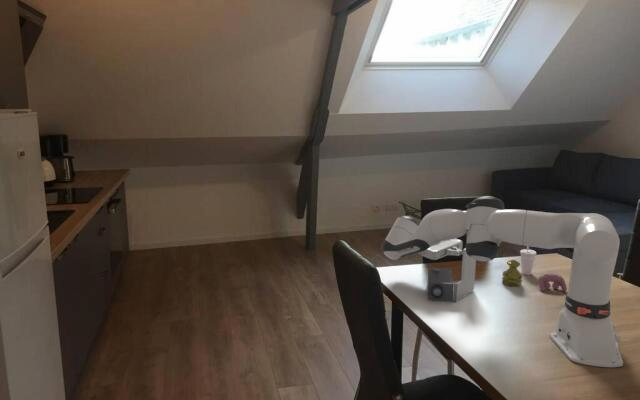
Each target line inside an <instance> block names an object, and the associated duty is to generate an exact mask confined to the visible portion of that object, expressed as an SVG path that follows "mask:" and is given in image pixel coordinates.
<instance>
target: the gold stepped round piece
mask: <svg viewBox="0 0 640 400" xmlns="http://www.w3.org/2000/svg"><path fill="white" fill-rule="evenodd" d="M506 264H507V265H508V267H509V268H508V269H506V270H504V271H503V272H502V276H503V277H502V278H501V279H502V280H501V283H502V284H503V285H504V286H506V287H510V288H520V287H521V286H522V282H523V275H524V274H522V272H520V270H518V267H519V266H521V262H520V261H517V260H516V259H511V260H508V261H506Z"/></svg>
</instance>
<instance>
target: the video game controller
mask: <svg viewBox="0 0 640 400" xmlns="http://www.w3.org/2000/svg"><path fill="white" fill-rule="evenodd" d="M537 281H538V285H539V290H540V291H541V292H544V291H545V289H546V290H548V289H551V287H552V289H554V290H558V289H559V287H561V289H562V291H563V292H564V293H567V292H568V286H567V284H566V281H565V279H564V278H563V277H562V275H559V274H556V273H555V274H554V273H546V274H542V275H540V276H538V278H537ZM550 282H551V283H552V285H551V284H550Z"/></svg>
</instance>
